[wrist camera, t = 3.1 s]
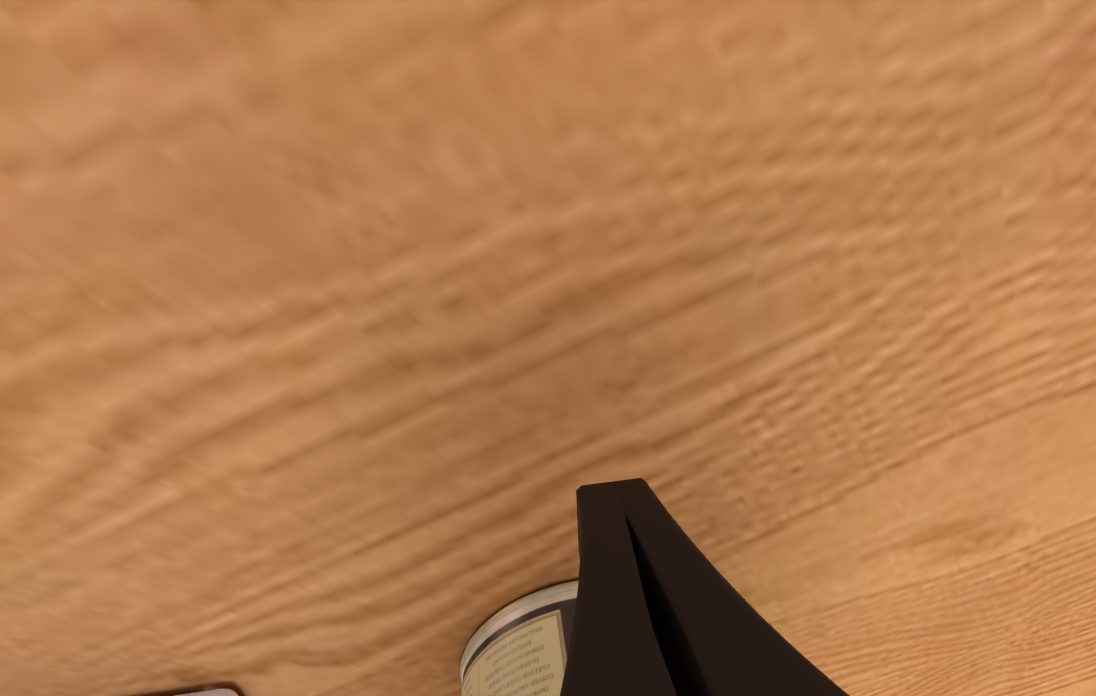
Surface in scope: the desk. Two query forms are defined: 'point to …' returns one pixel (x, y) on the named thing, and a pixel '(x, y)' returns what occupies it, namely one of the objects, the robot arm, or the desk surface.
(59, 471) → the desk surface
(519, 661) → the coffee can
